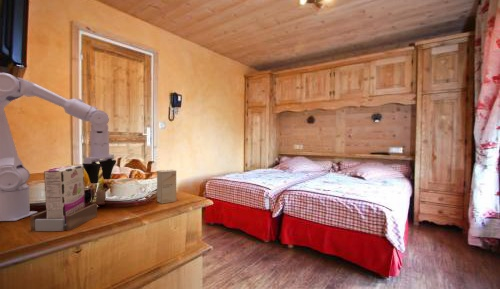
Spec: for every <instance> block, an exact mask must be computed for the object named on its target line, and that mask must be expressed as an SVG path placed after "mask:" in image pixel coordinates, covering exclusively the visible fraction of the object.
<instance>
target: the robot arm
mask: <svg viewBox="0 0 500 289" xmlns="http://www.w3.org/2000/svg"><path fill="white" fill-rule="evenodd" d="M24 96H25V97H27V98H28V97H29V98H31V97H35V98H39V99H41V100H44V101H47V102H50V103H52V104H54V105H56V106H59V107H62V108H63V110H64V112H65V113H66V114H67V115H70V116H71V117H72V116H73V117H74V118H77V119H79V120H81V121H83V122H90V131H89V136H90V140H89V142H90V144H89V145H90V156H88V157H84V158H83V161H84V162H83V163H82V164H81V165H83V169H84V171H85V172H86V174H87V176H88V179H89V182H90V185H91V184H98V183H99V175H100V170H101V171H102V172H101V173H102V179H103V180H111V177H112V173H113V170H114V167H115V165H116V163H117V160H116V159H115V155H114V154H111V153H110V131H109V125H108V124H109V122H110V118H109V114H108V113H106V112H105V111H103V110H101V109H99V110H98V107H97V106H92V105H90V104H87V103H85V102H84V100H83V99H81V98H78V99H77V98H70V99H67V98H65V97H64V96H61V95H59V94H57V93H56V92H54V91H51V90H49V89H47V88H45V87H43V86H41V85H38V84H37V83H35V82H32V81H29V80H27V79H24V78H21V77H16V76H15V75H12V74H10V73H7V72H0V222H16V221H18V220H22V219H23V218H24V219H25V218H27V217H29V216H32V215H35V214H37V213H38V211H37V210H36V211H35V210H31V208H30V204H31V203H30V185H28V184H27V182H28V181H29V179H30V176H31V174H30V171H29V170H28V169H27V168H26V167H25V166H24V163H23V161H22V160H21V158H20V157H19V154H18V151H17V147H16V144H15V141H14V138H13V135H12V132H11V128H10V126H9V125H10V124H9V122H8V118H7V115H6V112H5V107H7V106H8V105H9V104H10V103H11V102H13V101H15V100H18V99H20V98H21V97H24Z"/></svg>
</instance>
